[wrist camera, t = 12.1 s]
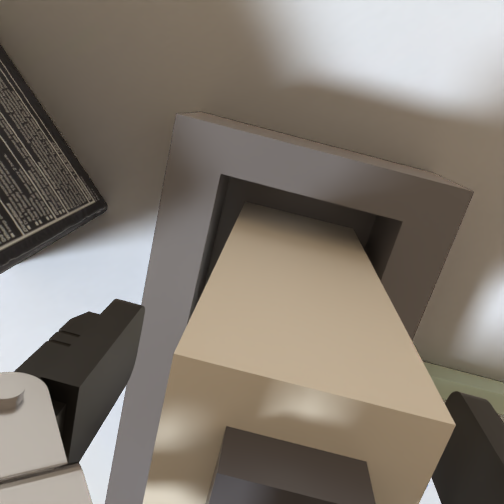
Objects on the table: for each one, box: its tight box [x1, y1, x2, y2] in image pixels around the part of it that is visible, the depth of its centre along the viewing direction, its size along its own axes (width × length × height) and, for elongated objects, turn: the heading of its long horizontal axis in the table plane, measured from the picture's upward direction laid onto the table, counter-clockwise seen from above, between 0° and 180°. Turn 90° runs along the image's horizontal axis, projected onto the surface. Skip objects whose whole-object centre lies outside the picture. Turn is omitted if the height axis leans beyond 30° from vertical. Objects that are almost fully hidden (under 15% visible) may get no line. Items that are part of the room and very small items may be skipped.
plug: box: [143, 202, 456, 504], centre depth 13 cm, size 5×5×13 cm
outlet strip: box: [105, 112, 474, 504], centre depth 20 cm, size 10×21×4 cm, turn 166°
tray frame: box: [423, 362, 504, 415], centre depth 22 cm, size 12×12×1 cm
